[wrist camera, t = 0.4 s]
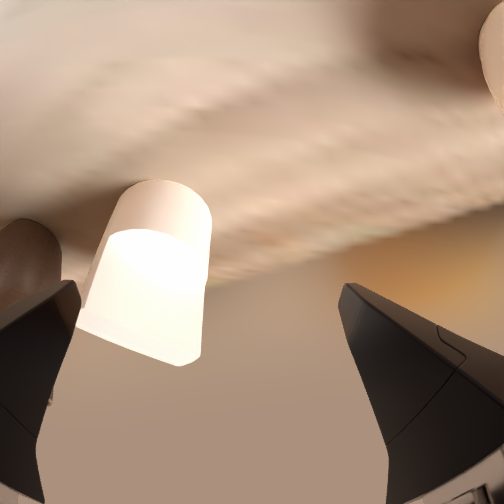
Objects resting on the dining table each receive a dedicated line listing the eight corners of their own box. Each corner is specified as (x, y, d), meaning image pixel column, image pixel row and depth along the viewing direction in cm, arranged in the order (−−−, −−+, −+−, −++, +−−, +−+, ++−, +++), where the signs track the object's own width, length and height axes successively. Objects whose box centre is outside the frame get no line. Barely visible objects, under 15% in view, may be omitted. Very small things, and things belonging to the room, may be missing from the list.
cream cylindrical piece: (101, 226, 27) (61, 337, 19) (145, 160, 23) (95, 282, 14) (177, 267, 32) (163, 376, 24) (232, 215, 27) (231, 341, 19)
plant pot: (47, 295, 35) (15, 403, 24) (-30, 225, 25) (-87, 336, 14) (117, 264, 31) (82, 409, 20) (22, 164, 21) (-73, 312, 10)
